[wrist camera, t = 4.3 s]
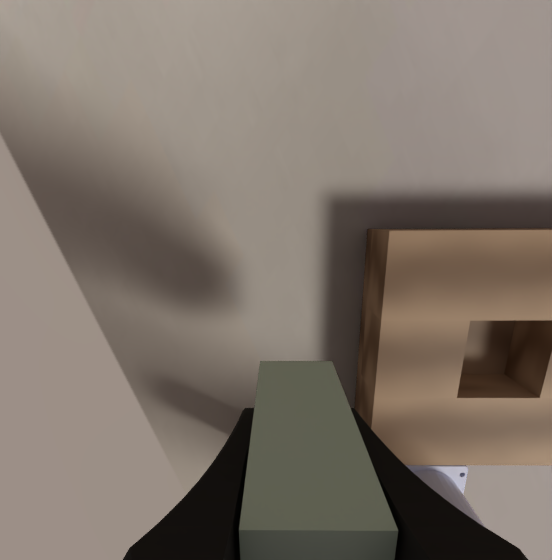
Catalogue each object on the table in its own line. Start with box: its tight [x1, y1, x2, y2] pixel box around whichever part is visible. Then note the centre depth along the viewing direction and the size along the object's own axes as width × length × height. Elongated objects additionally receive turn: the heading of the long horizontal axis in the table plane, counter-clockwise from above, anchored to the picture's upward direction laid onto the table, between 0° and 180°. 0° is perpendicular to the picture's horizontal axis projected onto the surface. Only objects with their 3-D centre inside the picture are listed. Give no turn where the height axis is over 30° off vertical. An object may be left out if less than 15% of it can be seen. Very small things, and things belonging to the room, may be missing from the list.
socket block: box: [355, 228, 552, 465], centre depth 20 cm, size 18×18×4 cm
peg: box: [239, 361, 398, 560], centre depth 11 cm, size 4×4×8 cm
